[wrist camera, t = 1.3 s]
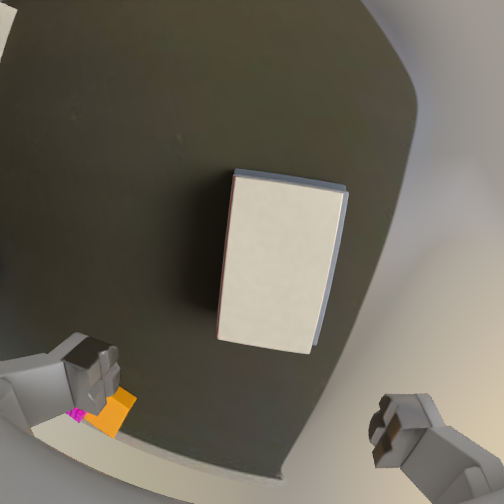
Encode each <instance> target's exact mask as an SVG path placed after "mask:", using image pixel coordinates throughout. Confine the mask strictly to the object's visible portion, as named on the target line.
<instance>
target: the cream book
mask: <svg viewBox="0 0 504 504" xmlns="http://www.w3.org/2000/svg"><path fill="white" fill-rule="evenodd" d="M342 200H343V193H341V192H338V191H333V190H328V189H322V188H316V187H310V186H304V185H298V184H292V183H285V182H278V181H272V180H265V179H257V178H250V177H242V176H234V178H233V185H232V194H231V202H230V210H229V218H228V227H227V236H226V244H225V253H224V263H223V272H222V281H221V291H220V301H219V311H218V321H217V332H216V338H217V339H220V340H225V341H230V342H235V343H241V344H246V345H252V346H258V347H264V348H270V349H276V350H283V351H289V352H296V353H303V354H309V353H310V350H311V346H312V342H313V339H314V335H315V331H316V327H317V322H318V318H319V314H320V310H321V306H322V301H323V297H324V293H325V288H326V284H327V279H328V274H329V269H330V265H331V260H332V255H333V250H334V245H335V239H336V234H337V229H338V223H339V217H340V212H341V206H342Z"/></svg>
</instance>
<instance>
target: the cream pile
mask: <svg viewBox="0 0 504 504" xmlns="http://www.w3.org/2000/svg"><path fill="white" fill-rule="evenodd" d="M16 13H17V9H15V8H12V7H10V6H7V5H6V4H4V3H1V2H0V61H1V57H2V54H3V50H4V47H5V44H6V41H7V37H8V34H9V32H10V29H11V26H12V23H13V20H14V18H15V15H16Z"/></svg>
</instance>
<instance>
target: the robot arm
mask: <svg viewBox="0 0 504 504" xmlns="http://www.w3.org/2000/svg"><path fill="white" fill-rule="evenodd" d="M118 358H119V352H118V348H117V347H116V346H114V345H111V344H109V343H106V342H103V341H100V340H98V339H95V338H92V337H89V336H86V335H84V334H81V333H74V334H72V335H71V336H70V337H69V338H67V339H66V340H65V341H64V342H62V343H61V344H60V345H59V346H57V347H56V348H55V349H54V350H52V351H51V352H50V353H49V354H45V353H41V354H37V355H32V356H27V357H22V358H17V359H12V360H6V361H1V362H0V504H193V503H189V502H185V501H181V500H177V499H174V498H170V497H167V496H164V495H161V494H158V493H154V492H151V491H149V490H146V489H143V488H140V487H137V486H135V485H132V484H129V483H127V482H124V481H121V480H119V479H117V478H114V477H112V476H109V475H107V474H105V473H103V472H100V471H98V470H95V469H94V468H92V467H89V466H87V465H85V464H83V463H81V462H79V461H77V460H75V459H73V458H71V457H69V456H67V455H66V454H64V453H62V452H60V451H58V450H57V449H55V448H53V447H51V446H50V445H48V444H46V443H44V442H42V441H41V440H40V439H38V438H36V437H35V436H34V434H33V432H32V430H31V428H30V427H33V426H35V425H38V424H40V423H43V422H45V421H47V420H50V419H52V418H54V417H56V416H59V415H61V414H64V413H66V412H68V411H70V410H73V409H75V407H76V408H78V409H80V410H83V411H85V412H88V413H90V414H93V415H95V416H98V415H99V414H100V412H101V411H102V410H103V408H104V407H105V406H106V404H107V400H106V398H107V397H110V396H113V395H114V394H115V393H116V391H117V390H118V387H119V385H120V382H121V369H120V367H119V366H118V364H117V363H116V361H117V360H118ZM379 406H380V410H379V411H377V412H376V413H375V414H374V415H373V417H372V419H371V421H370V425H369V440H370V442H371V443H372V444H373V445H374V446H375V448H374V450H373V452H372V453H373V458H374V463H375V468H398V467H401V468H400V469H401V470H402V471H403V472H404V473H405V475H406V476H407V477H408V478H409V479H410V480H411V481H412V482H413V483H414V484H415V485H416V487H417V488H418V489H419V490H420V491H421V492H422V493H423V494H424V495H425V496H426V497H427V498H428V499H429V501H431V503H432V504H504V466H503V464H502V462H501V460H500V459H499V458H498V457H496V456H495V455H493V454H491V453H490V452H488V451H487V450H485V449H484V448H482V447H481V446H479V445H478V444H476V443H475V442H473V441H472V440H470V439H469V438H467V437H466V436H464V435H463V434H461V433H460V432H458V431H457V430H455V429H454V428H452V427H451V426H446V425H445V423H444V421H443V419H442V417H441V415H440V413H439V411H438V409H437V407H436V405H435V403H434V401H433V400H432V398H431V396H430V395H429V394H426V393H425V394H385V395H384V396H383V397H382V398H381V400H380V402H379Z"/></svg>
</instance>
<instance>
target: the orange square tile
mask: <svg viewBox="0 0 504 504" xmlns="http://www.w3.org/2000/svg"><path fill="white" fill-rule="evenodd" d="M136 399H137V398H136V397H135V396H133V395H132V394H130V393H129V392H127V391H126V390H124V389H123V388H121V387H120V386H119V387H118V390H117V391H116V393H115V394H114V395H113V396H110V397H107V398H106V400H107V404H106V406H105V407H104V408H103V410H102V411H101V412H100V414H99V415H98V416H95V415H93V414H90V413H88V412H85V411H83V410H80V409H78V408H76V407H75V409H73V410H70V411H68V412H66V413H67V414H68V415H69V416H71V417H72V418H73V419H75V420H76V421H77V422H78V423H79V422H80V421H81V420H82V419H83V418H84V419H85V420H87V421H88V422H90V423H91V424H92V425H94V426H95V427H97V428H98V429H99V430H101V431H102V432H104V433H105V434H107V435H108V436H110V437H111V438H114V437H115V436H116V434H117V433H118V431H119V430H120V428H121V426H122V425H123V423H124V421H125V419H126V417H127V415H128V414H129V412H130V410H131V408H132V406H133V405H134V403H135V401H136Z"/></svg>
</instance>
